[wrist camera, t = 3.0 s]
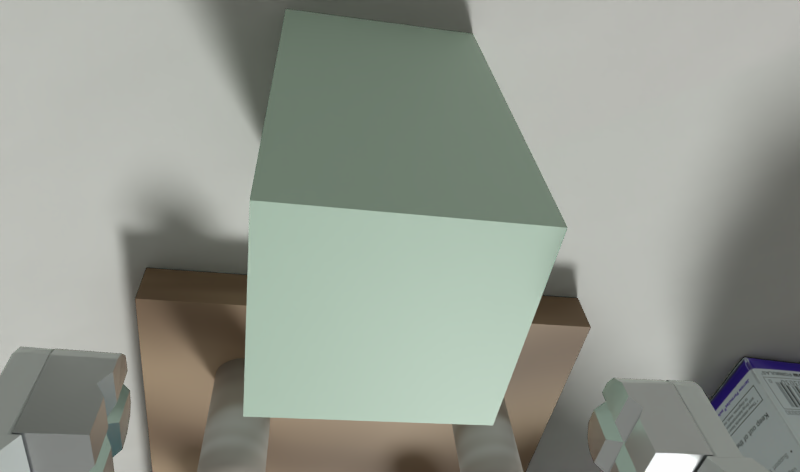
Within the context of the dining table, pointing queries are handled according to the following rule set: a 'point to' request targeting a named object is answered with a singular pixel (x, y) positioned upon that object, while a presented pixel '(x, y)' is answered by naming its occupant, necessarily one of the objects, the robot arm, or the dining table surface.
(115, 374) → the robot arm
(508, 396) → the peg board
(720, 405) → the supplement box
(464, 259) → the sage block
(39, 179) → the dining table surface
